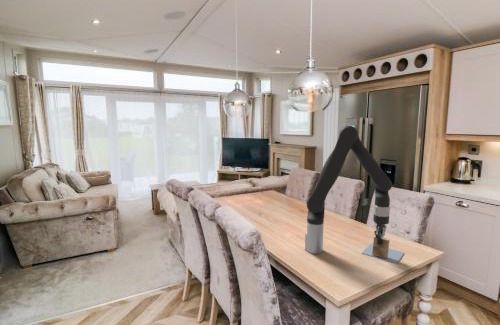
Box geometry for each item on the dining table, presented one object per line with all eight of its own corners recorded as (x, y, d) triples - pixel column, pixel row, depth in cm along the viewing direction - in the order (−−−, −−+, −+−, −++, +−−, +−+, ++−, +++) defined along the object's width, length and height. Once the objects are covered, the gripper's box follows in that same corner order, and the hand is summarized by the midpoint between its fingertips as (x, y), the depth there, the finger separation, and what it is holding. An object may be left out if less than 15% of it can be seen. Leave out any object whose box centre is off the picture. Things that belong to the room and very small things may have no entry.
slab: (372, 254, 146) (374, 236, 146) (374, 253, 149) (376, 235, 149) (385, 258, 142) (387, 240, 142) (387, 257, 144) (389, 239, 144)
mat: (361, 253, 150) (361, 252, 150) (371, 244, 162) (371, 243, 162) (396, 264, 138) (396, 263, 138) (404, 253, 150) (404, 252, 150)
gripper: (378, 209, 148) (376, 238, 150) (369, 215, 138) (368, 246, 140) (392, 212, 143) (390, 242, 145) (385, 218, 133) (383, 251, 135)
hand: (379, 244), depth 143 cm, fingers closed
